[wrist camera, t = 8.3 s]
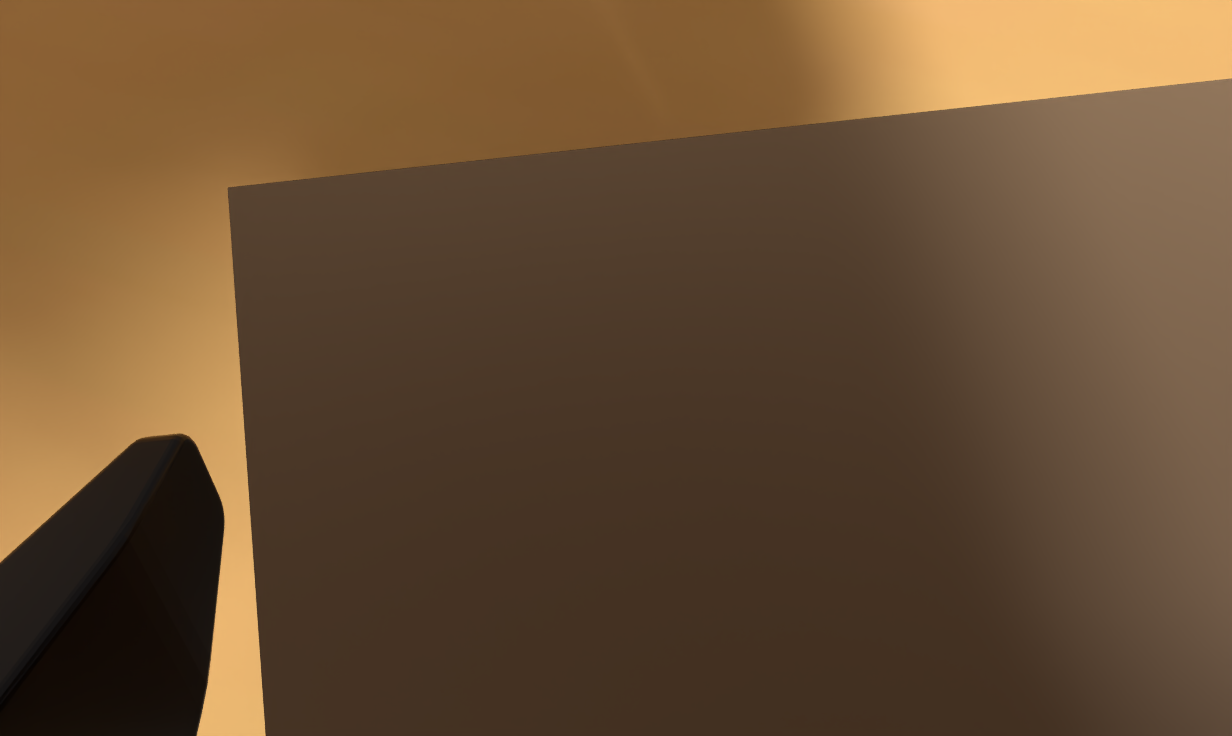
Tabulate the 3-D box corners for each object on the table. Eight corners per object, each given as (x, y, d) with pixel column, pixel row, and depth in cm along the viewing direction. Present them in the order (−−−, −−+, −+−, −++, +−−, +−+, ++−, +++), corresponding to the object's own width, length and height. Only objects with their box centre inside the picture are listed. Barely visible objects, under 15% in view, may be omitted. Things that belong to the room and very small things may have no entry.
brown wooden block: (842, 651, 17) (1662, 1363, 3) (582, 678, 17) (317, 1482, 3) (811, 391, 18) (1423, 56, 4) (556, 418, 18) (229, 186, 4)
